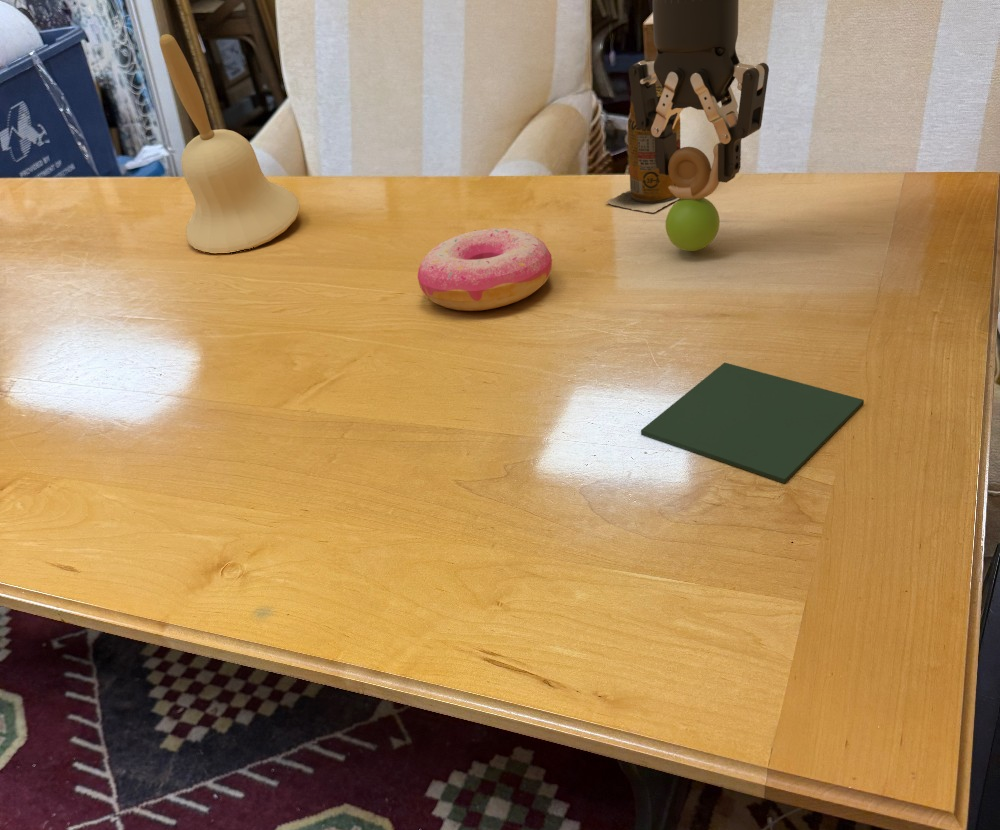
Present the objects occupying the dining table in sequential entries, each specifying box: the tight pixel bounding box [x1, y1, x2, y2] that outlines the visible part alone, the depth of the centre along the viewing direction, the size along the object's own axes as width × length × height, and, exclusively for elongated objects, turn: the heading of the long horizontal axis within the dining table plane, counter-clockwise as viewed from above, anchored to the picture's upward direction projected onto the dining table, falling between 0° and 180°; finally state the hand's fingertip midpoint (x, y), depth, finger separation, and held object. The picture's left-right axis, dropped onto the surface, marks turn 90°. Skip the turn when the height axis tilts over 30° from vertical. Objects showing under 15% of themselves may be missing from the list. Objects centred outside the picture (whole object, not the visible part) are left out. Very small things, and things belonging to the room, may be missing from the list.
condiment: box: [604, 85, 682, 214], centre depth 107 cm, size 7×8×12 cm
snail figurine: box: [665, 142, 721, 252], centre depth 91 cm, size 5×6×12 cm
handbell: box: [159, 33, 301, 252], centre depth 111 cm, size 15×15×25 cm
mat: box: [640, 362, 865, 484], centre depth 69 cm, size 12×12×1 cm
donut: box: [417, 227, 553, 312], centre depth 93 cm, size 14×13×5 cm
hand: (696, 175), depth 90 cm, fingers closed on snail figurine, 6 cm apart
